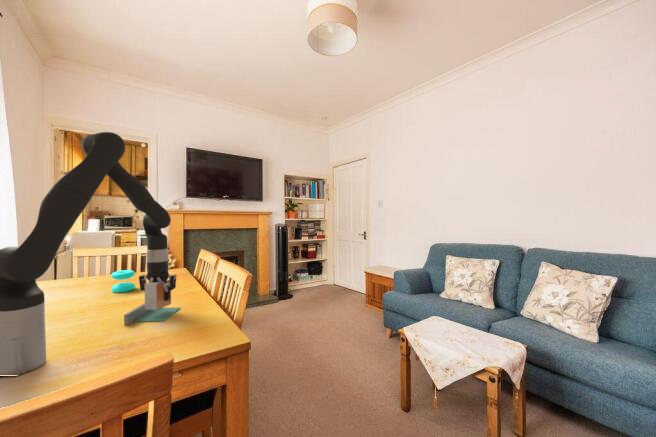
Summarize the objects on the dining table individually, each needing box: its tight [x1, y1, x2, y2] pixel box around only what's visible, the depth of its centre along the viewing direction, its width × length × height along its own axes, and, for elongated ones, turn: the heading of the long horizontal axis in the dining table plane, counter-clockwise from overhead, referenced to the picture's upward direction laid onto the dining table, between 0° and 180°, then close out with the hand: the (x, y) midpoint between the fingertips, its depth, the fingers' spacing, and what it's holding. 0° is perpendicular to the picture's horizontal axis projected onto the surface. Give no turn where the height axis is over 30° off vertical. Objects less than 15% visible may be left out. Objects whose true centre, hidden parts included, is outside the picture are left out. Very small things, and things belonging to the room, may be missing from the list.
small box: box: [144, 278, 172, 310], centre depth 114 cm, size 8×6×10 cm
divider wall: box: [123, 302, 150, 326], centre depth 114 cm, size 20×1×4 cm, turn 3°
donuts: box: [111, 269, 136, 294], centre depth 147 cm, size 10×10×10 cm
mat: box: [133, 307, 181, 323], centre depth 114 cm, size 14×11×1 cm
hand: (158, 300), depth 114 cm, fingers closed on small box, 6 cm apart
